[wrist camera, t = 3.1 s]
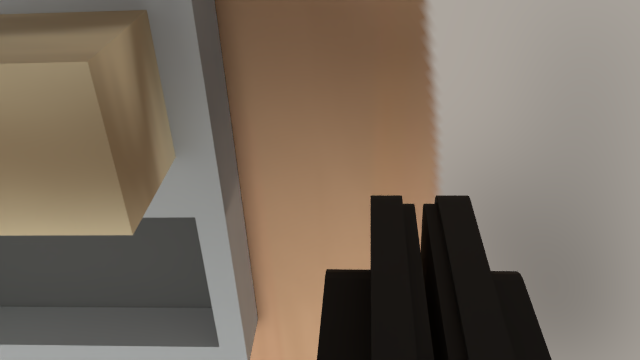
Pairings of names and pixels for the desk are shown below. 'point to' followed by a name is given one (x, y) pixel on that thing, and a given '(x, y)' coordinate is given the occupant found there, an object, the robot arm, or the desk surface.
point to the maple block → (79, 123)
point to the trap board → (147, 229)
